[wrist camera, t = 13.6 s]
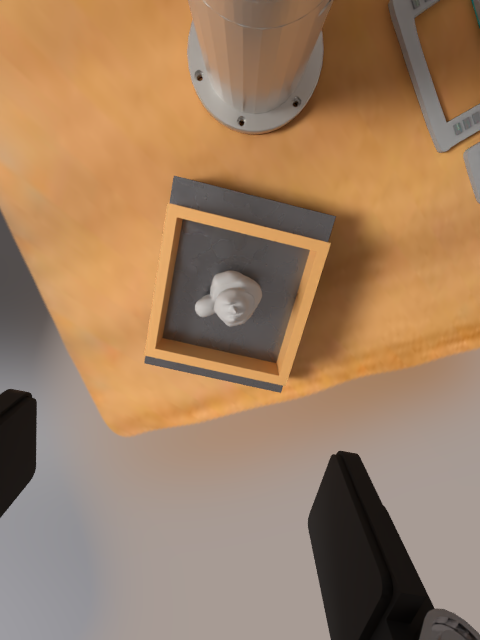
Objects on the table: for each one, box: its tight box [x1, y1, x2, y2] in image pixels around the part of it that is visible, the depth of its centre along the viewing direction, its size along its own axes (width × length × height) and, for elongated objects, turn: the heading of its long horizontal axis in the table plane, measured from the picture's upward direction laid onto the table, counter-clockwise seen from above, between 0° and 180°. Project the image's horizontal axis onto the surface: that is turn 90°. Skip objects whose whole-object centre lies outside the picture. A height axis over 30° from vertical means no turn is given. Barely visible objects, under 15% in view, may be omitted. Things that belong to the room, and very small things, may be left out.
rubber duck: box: [195, 271, 262, 327], centre depth 30 cm, size 5×7×8 cm
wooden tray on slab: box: [144, 176, 336, 393], centre depth 34 cm, size 20×16×7 cm
